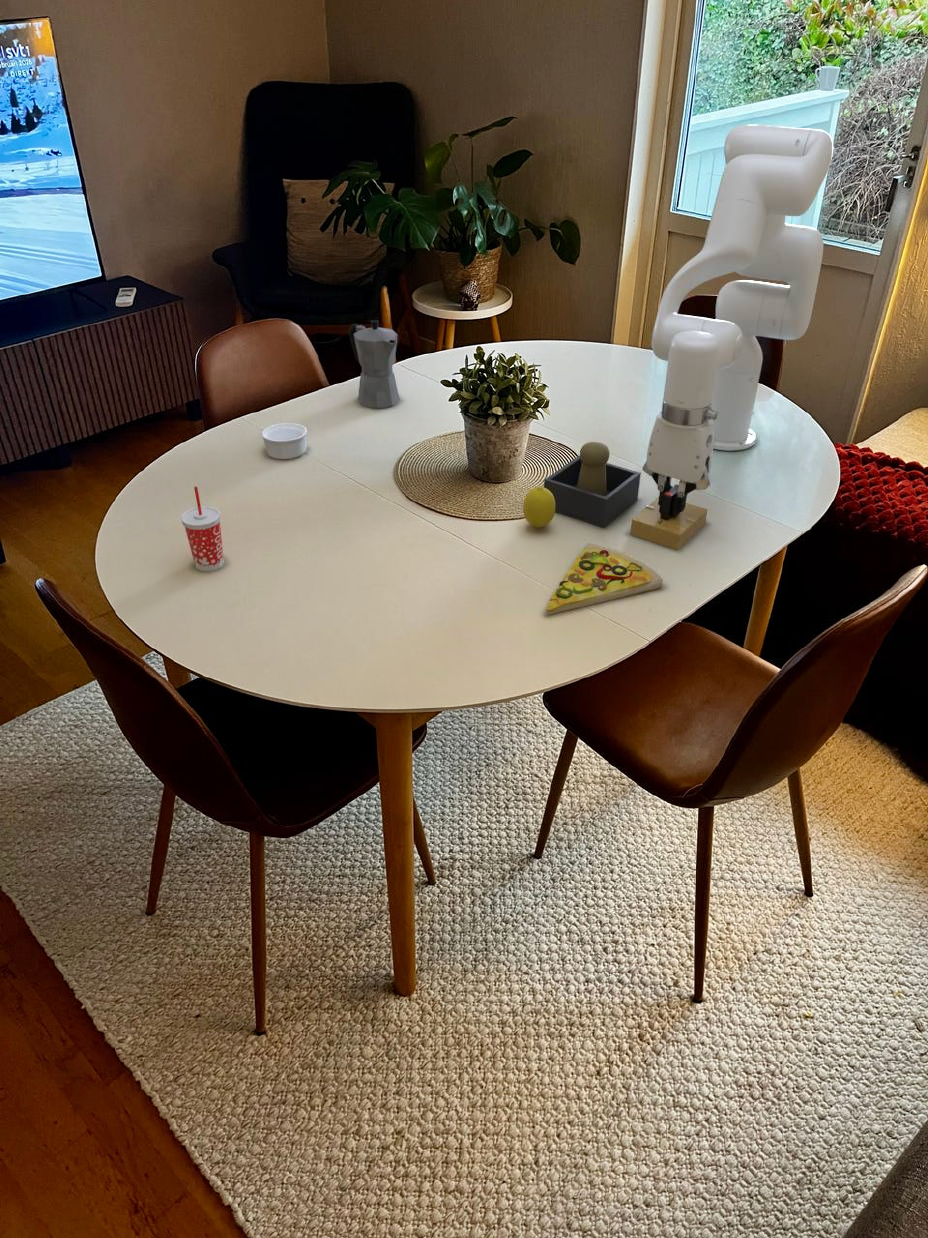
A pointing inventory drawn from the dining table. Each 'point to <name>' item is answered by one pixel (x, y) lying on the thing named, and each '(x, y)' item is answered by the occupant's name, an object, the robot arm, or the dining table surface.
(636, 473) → the sink basin
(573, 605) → the pizza slice
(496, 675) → the dining table surface
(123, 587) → the dining table surface
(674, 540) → the block
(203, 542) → the beverage cup
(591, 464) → the cork
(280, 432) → the ramekin
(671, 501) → the tap handle
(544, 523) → the lemon
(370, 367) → the coffeepot
